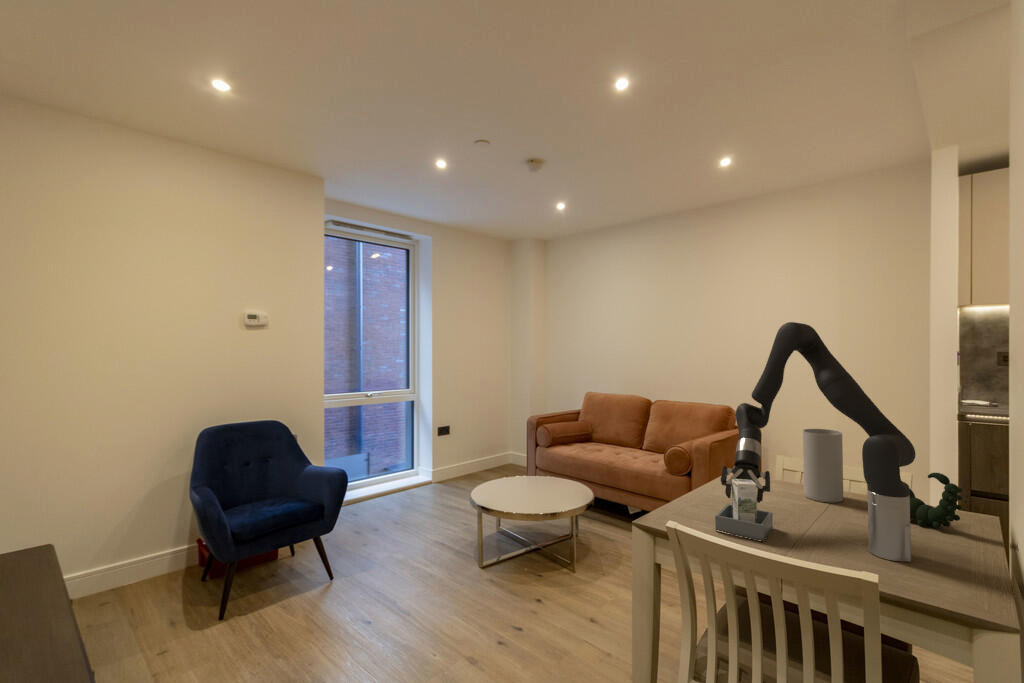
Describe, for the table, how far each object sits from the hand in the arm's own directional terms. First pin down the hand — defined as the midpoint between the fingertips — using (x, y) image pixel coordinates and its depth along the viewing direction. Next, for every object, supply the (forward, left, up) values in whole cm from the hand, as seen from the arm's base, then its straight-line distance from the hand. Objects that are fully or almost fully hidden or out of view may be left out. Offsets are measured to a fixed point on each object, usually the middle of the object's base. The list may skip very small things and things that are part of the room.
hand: (743, 499), depth 150 cm
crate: (0, -1, -10) cm, 10 cm away
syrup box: (0, -2, -9) cm, 9 cm away
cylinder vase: (-16, -51, -10) cm, 55 cm away
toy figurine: (-42, -41, -10) cm, 60 cm away
